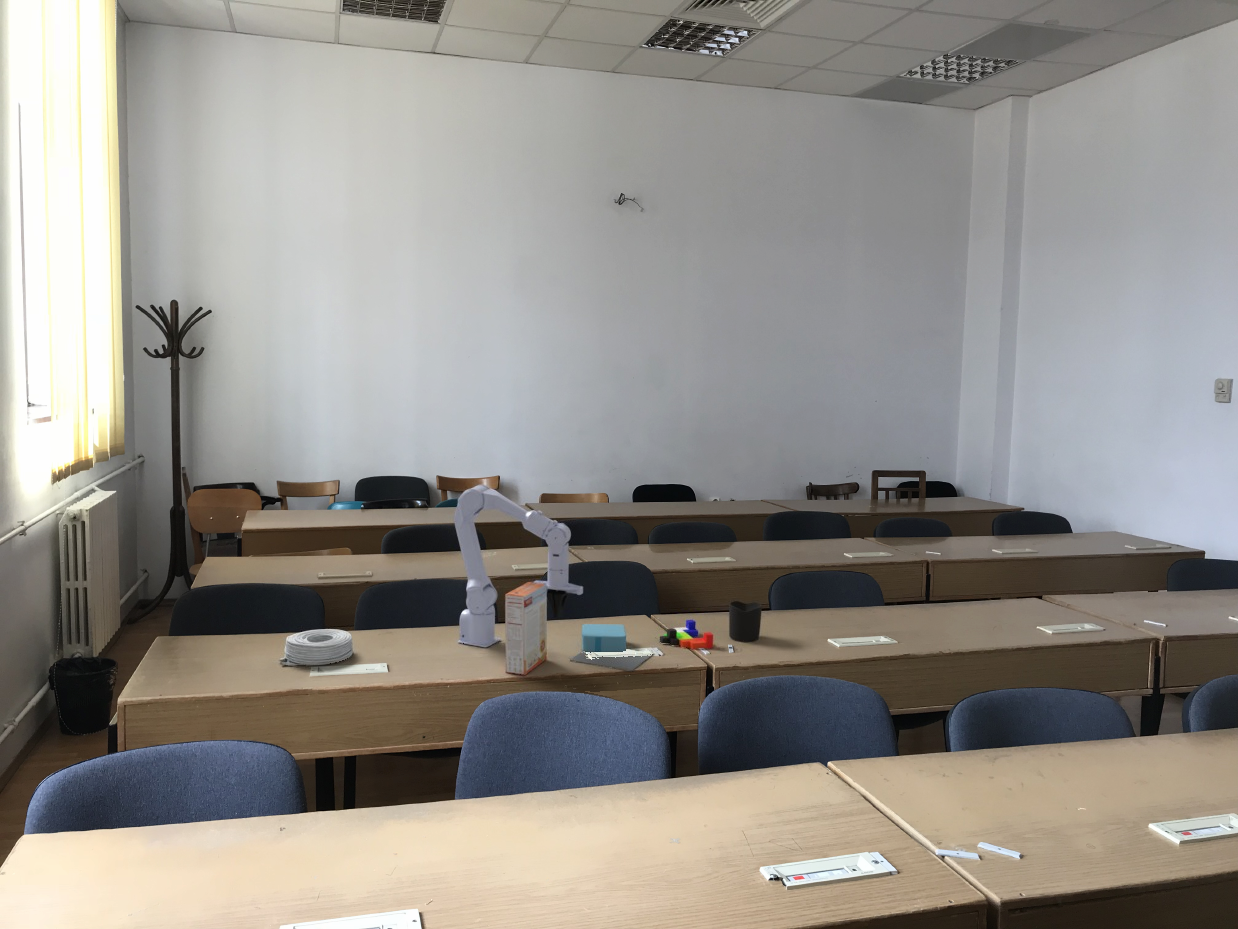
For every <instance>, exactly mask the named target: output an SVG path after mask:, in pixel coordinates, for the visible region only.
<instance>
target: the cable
mask: <svg viewBox="0 0 1238 929" xmlns="http://www.w3.org/2000/svg"><path fill="white" fill-rule="evenodd" d="M353 644H354V643H353V637H352V635H351V633H350V632H348V631H346V630H342V629H333V628H332V629H331V628H329V629H328V628H325V629H311V630H305V631H302V632H301V631H300V632H297V633H294V634H291V635H288V636H287V637H286V640H285V647H284V657H281V658H279V659H278V661H279V662H280V664H281V666H284V665H288V666H287V667H295V665H306V666H323V665H330V663H331V664H335V662H337V663H340V662H339V661H341V662H343V661H342V660H344V661H346V660H348V659H349V658H351V657H352V655H353V653H354V646H353ZM347 658H348V659H347ZM345 659H346V660H345Z"/></svg>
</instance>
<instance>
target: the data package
mask: <svg viewBox="0 0 1238 929" xmlns="http://www.w3.org/2000/svg"><path fill="white" fill-rule="evenodd" d="M581 647H582V648H581V650H582V651H585V652H623V651H626V648H627V633H626V627H625V625H624V624H620V623H619V624H617V623H616V624H613V623H612V624H609V623H607V624H606V623H603V624H602V623H585V624H582V625H581Z"/></svg>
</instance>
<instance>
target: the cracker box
mask: <svg viewBox="0 0 1238 929" xmlns="http://www.w3.org/2000/svg"><path fill="white" fill-rule="evenodd" d="M547 591H548V590H547V584H544V583H535V582H534V581H528V582H526V583H523V584H522V585H521V586H519V587H516V588H515V589H513V590H511V591H509V592H508V593H505V595H504V601H505V602H504V603H505V604H504V612H505V615H504V616H505V618H504V619H505V620H504V622H505V624H504V625H505V637H504V638H505V673H507V674H512V673H515V674H514V675H520V674H521V675H520V676H526V675H527V674H528V673H530V672H532V671H533V670H534V669H535V668H536V667H538V666H540V664H541V663H544V662H545V660H547V653H548V652H547V640H548V639H547V637H548V635H547V634H548V632H547V631H548V630H547V628H548V627H547V626H548V622H547V620H548V619H547V617H548V616H547V608H548V606H547V605H548V604H547V602H548V598H547Z"/></svg>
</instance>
